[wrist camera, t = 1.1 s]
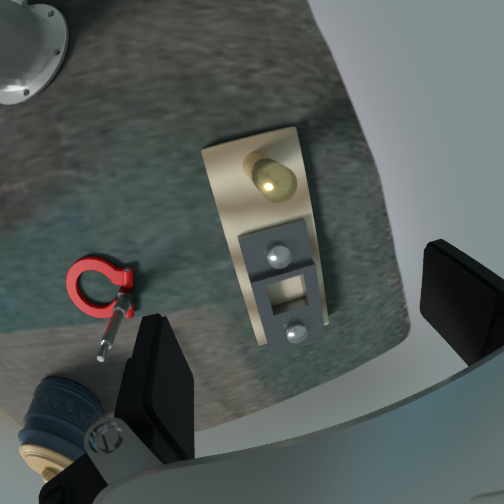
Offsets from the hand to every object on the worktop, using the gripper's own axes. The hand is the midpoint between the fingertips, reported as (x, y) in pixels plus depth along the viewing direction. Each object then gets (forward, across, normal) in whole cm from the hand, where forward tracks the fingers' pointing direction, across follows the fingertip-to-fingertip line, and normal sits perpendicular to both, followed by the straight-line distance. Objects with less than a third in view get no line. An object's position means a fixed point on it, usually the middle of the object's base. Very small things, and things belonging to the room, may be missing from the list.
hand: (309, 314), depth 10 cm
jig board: (+26, -2, +9) cm, 27 cm away
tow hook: (+26, +20, +8) cm, 33 cm away
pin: (+24, -2, -1) cm, 24 cm away
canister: (+26, +37, +28) cm, 53 cm away
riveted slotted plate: (+24, -2, +14) cm, 28 cm away
